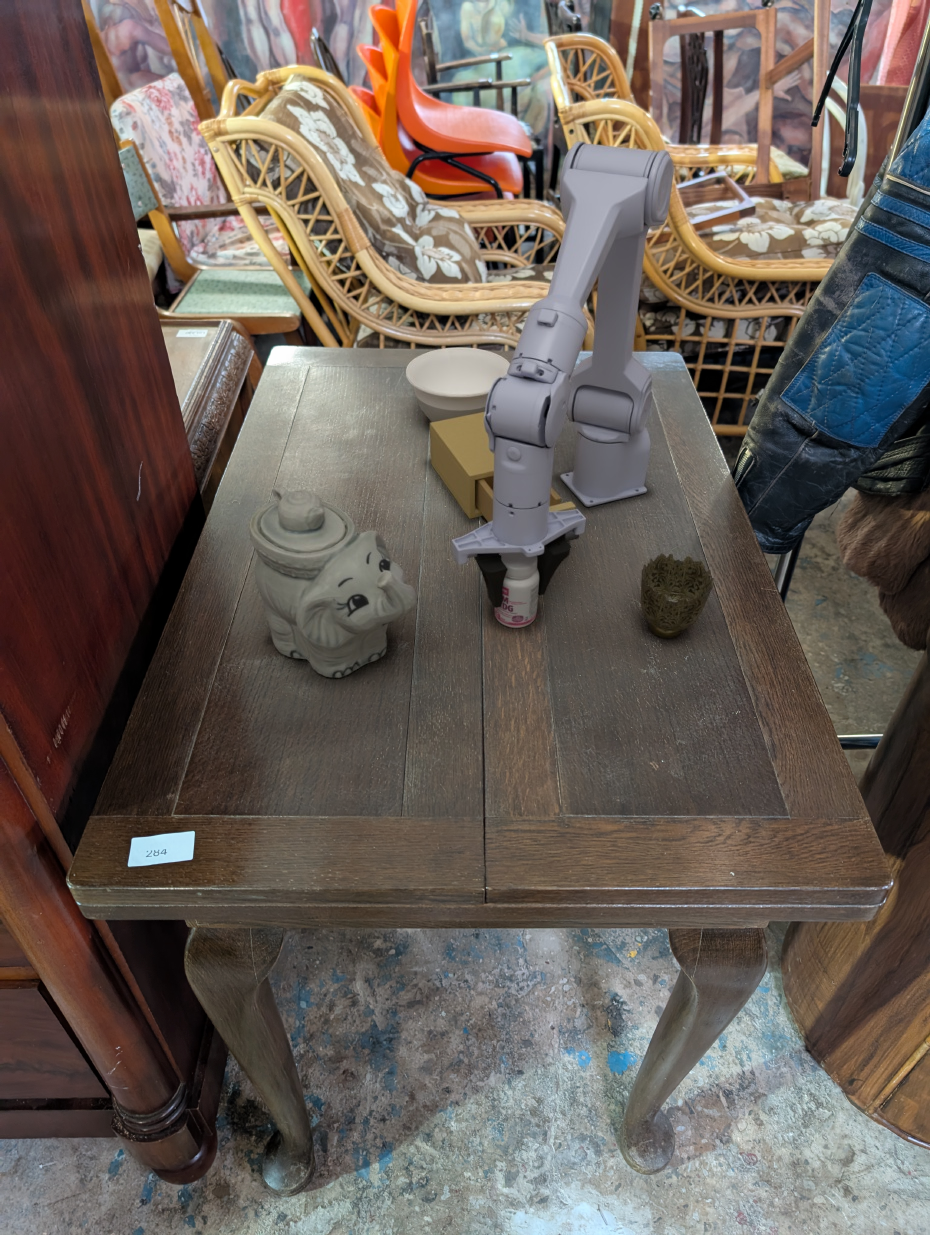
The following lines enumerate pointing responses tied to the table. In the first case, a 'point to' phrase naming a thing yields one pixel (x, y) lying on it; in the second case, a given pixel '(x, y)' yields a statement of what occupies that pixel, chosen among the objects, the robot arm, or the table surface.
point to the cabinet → (462, 457)
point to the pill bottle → (519, 590)
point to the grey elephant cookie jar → (325, 583)
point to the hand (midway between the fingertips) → (516, 595)
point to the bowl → (454, 380)
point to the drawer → (486, 501)
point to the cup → (673, 593)
